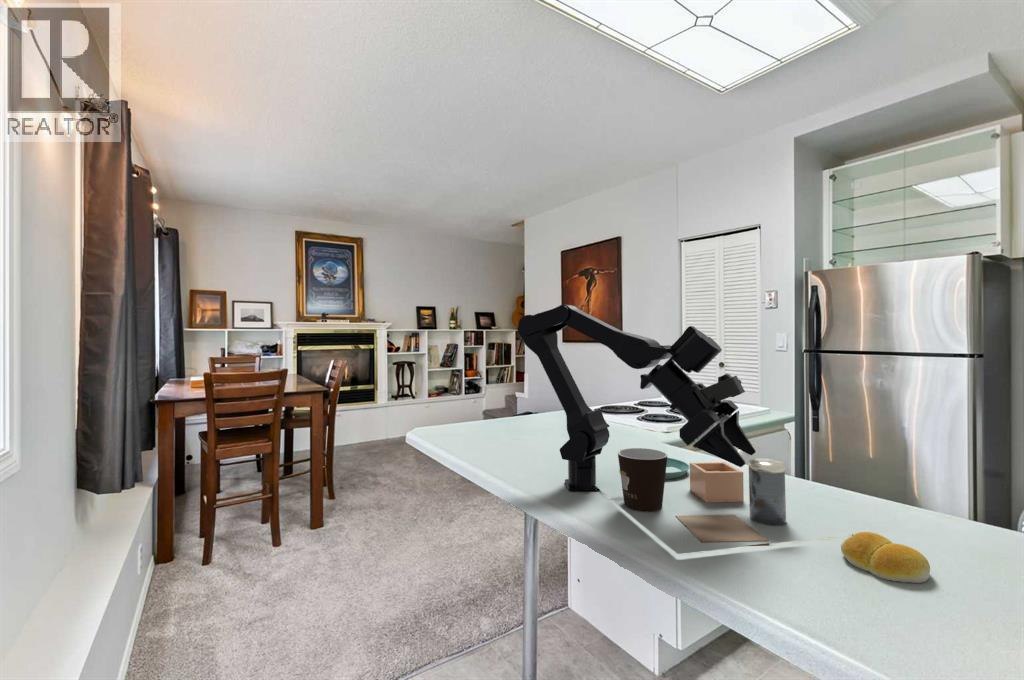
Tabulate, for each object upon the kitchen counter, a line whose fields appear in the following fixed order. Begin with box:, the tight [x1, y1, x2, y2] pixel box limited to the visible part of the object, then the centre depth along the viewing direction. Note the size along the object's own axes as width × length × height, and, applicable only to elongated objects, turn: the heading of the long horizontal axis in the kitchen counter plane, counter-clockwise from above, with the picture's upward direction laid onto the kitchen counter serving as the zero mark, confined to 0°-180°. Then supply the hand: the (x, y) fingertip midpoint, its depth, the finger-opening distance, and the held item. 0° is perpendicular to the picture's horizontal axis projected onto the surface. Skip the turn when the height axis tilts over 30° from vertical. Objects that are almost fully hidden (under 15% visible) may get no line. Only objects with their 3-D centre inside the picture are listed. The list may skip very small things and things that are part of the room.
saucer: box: [665, 457, 690, 480], centre depth 104 cm, size 15×15×3 cm
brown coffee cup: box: [617, 447, 668, 513], centre depth 84 cm, size 12×9×10 cm
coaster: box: [675, 514, 770, 547], centre depth 72 cm, size 10×10×1 cm
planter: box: [689, 461, 745, 503], centre depth 87 cm, size 7×7×6 cm
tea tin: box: [747, 457, 787, 527], centre depth 75 cm, size 5×5×10 cm
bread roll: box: [840, 531, 931, 584], centre depth 60 cm, size 8×9×4 cm
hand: (748, 459), depth 77 cm, fingers open, 9 cm apart
